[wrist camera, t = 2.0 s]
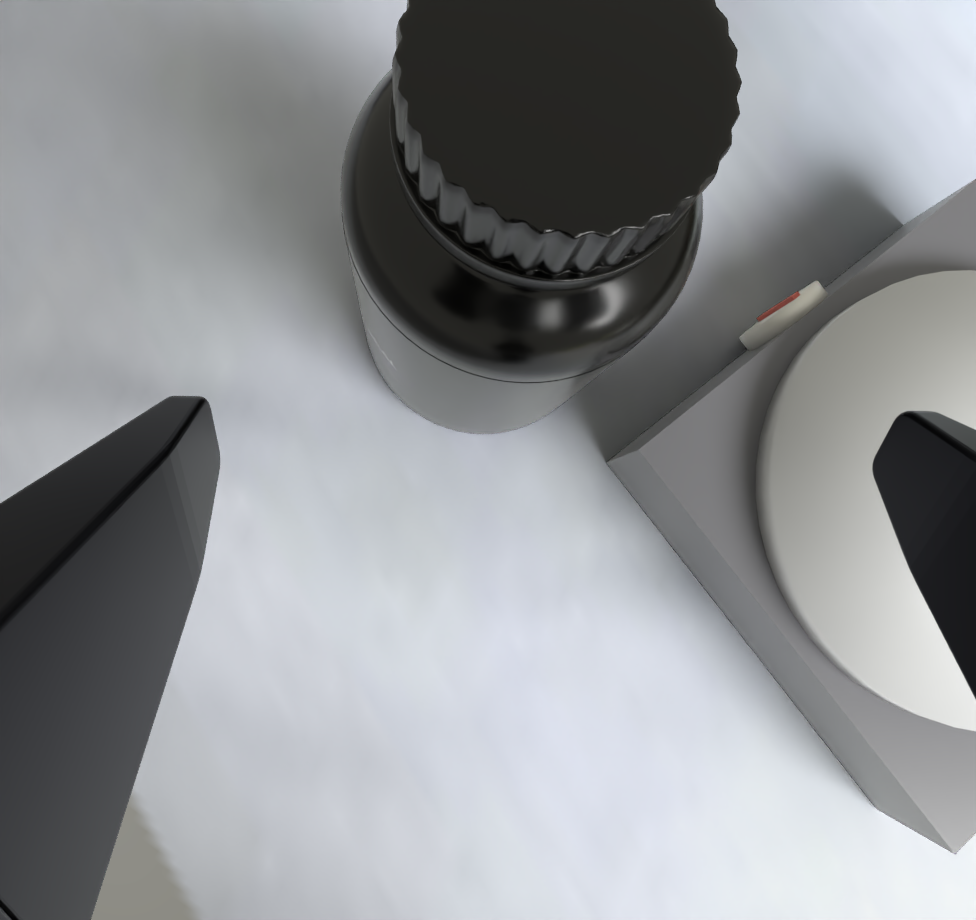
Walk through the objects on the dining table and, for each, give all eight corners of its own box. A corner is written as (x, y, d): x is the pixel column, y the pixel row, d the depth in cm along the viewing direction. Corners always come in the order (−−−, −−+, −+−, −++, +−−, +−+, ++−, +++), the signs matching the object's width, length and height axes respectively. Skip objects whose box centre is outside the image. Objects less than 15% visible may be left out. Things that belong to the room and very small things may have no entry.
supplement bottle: (317, 346, 20) (189, 77, 9) (458, 176, 22) (515, -270, 10) (504, 487, 21) (632, 415, 9) (634, 312, 22) (905, 35, 10)
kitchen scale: (877, 809, 21) (980, 868, 17) (593, 446, 21) (633, 425, 17) (1155, 536, 23) (1302, 536, 19) (892, 209, 23) (986, 144, 19)
